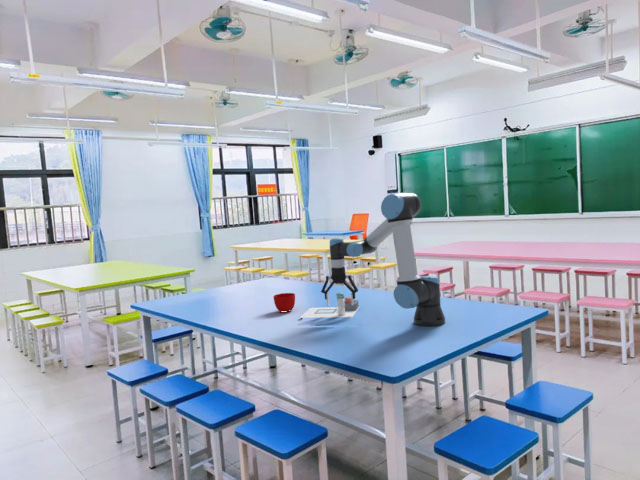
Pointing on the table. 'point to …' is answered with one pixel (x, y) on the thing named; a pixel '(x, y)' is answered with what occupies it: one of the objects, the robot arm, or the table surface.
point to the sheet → (326, 313)
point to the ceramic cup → (284, 301)
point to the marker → (340, 304)
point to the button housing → (351, 306)
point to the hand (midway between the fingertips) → (340, 305)
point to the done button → (348, 300)
